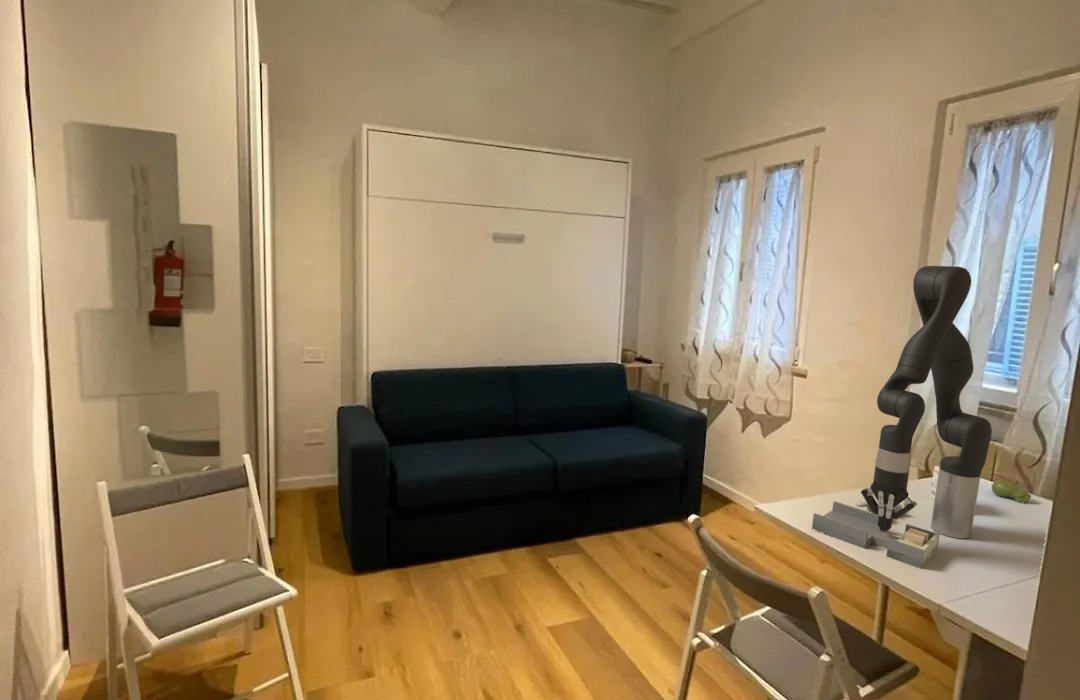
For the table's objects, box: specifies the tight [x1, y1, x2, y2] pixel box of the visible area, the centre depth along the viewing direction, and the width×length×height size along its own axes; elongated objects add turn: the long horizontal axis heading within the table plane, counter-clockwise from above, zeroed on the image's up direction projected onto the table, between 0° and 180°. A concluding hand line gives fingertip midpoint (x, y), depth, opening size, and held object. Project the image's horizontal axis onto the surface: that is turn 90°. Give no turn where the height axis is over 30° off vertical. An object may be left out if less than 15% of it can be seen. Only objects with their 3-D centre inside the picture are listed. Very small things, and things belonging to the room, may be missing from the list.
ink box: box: [929, 465, 940, 506], centre depth 180 cm, size 9×5×12 cm, turn 168°
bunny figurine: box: [855, 494, 903, 515], centre depth 175 cm, size 10×5×15 cm
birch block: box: [904, 528, 929, 549], centre depth 149 cm, size 4×4×4 cm
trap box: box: [811, 500, 941, 569], centre depth 157 cm, size 14×26×4 cm, turn 43°
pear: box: [991, 479, 1032, 503], centre depth 190 cm, size 6×5×10 cm
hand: (883, 529), depth 155 cm, fingers closed
